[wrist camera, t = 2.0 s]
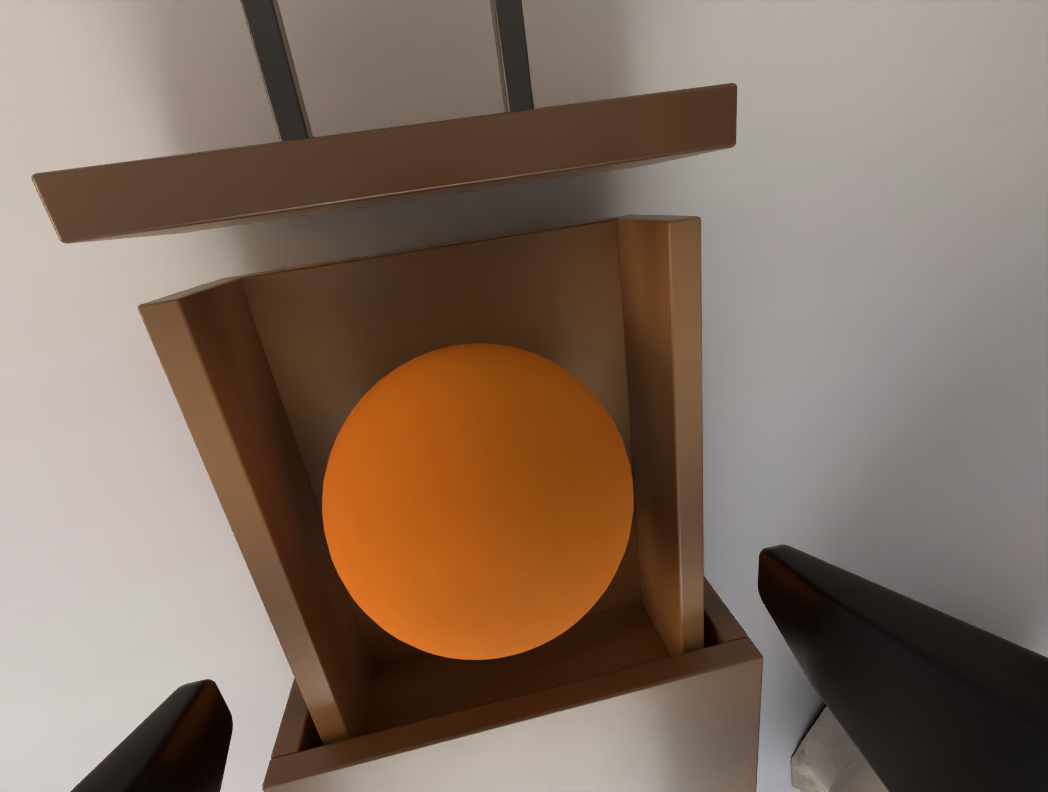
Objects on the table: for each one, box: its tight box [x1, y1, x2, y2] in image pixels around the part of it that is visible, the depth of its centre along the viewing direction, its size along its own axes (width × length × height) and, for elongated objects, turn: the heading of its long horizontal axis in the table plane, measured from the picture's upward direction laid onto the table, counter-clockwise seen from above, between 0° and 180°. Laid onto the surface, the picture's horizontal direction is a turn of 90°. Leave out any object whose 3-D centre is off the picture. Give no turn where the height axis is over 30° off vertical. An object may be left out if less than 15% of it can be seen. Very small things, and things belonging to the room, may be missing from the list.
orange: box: [322, 343, 634, 660], centre depth 12 cm, size 7×7×7 cm
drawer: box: [32, 0, 737, 745], centre depth 14 cm, size 22×13×5 cm, turn 8°
